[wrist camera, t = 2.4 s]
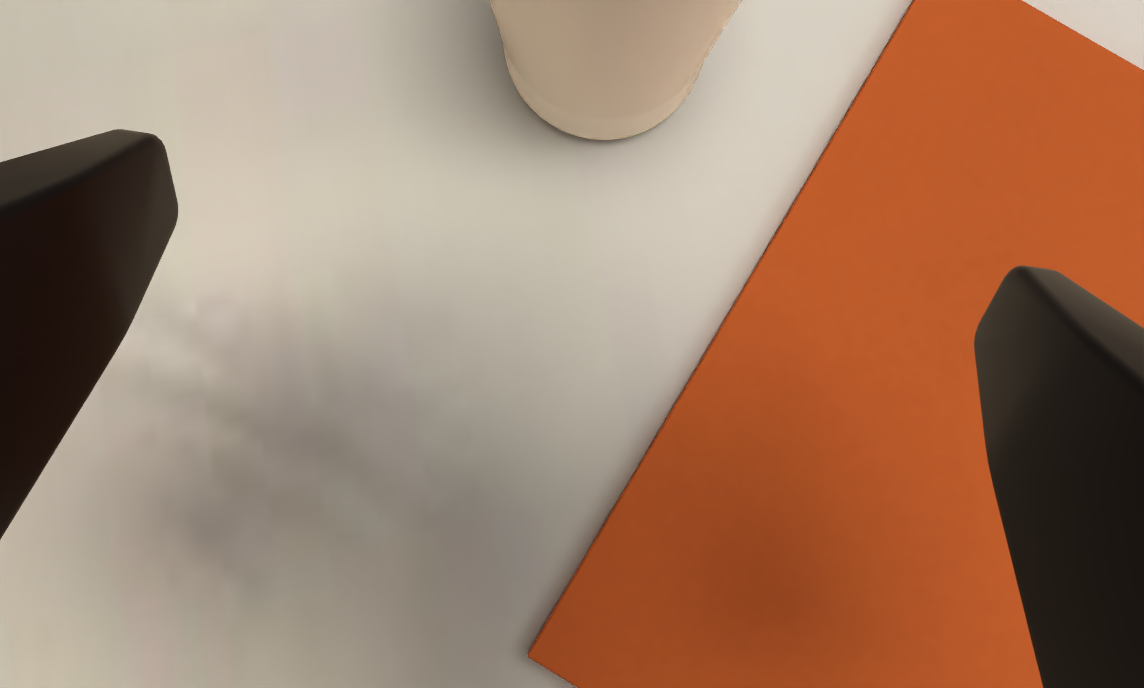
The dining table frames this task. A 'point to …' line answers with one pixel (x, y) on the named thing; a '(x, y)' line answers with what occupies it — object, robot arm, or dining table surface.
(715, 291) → the dining table surface
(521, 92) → the drinking glass
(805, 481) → the cloth
